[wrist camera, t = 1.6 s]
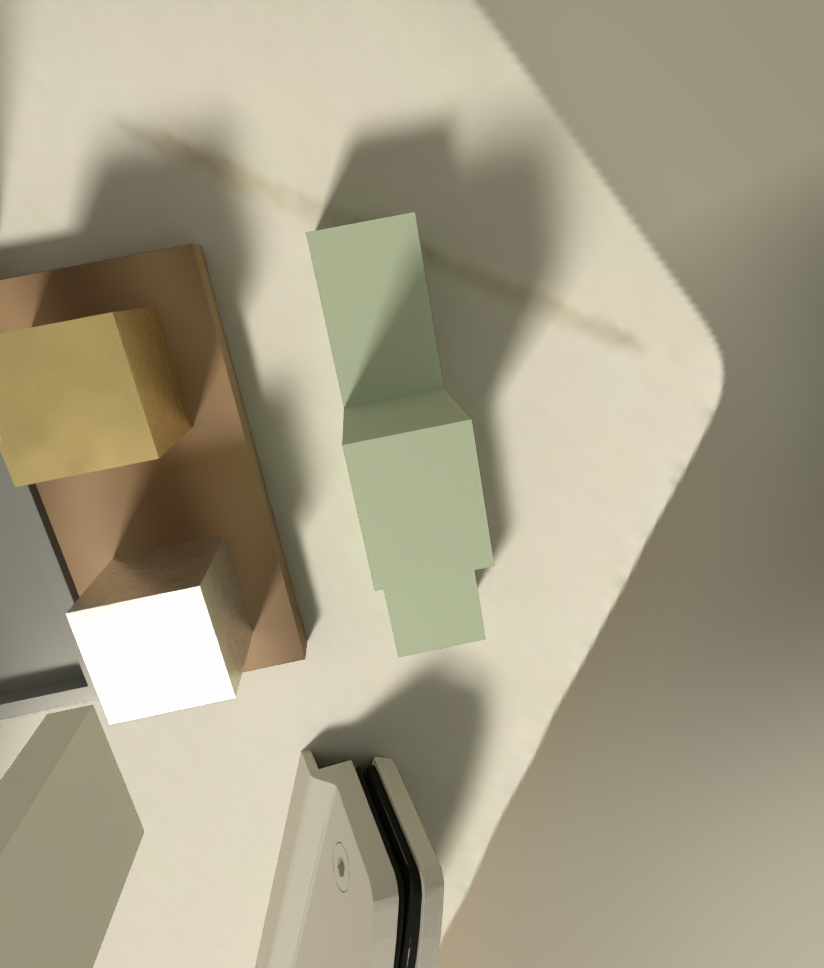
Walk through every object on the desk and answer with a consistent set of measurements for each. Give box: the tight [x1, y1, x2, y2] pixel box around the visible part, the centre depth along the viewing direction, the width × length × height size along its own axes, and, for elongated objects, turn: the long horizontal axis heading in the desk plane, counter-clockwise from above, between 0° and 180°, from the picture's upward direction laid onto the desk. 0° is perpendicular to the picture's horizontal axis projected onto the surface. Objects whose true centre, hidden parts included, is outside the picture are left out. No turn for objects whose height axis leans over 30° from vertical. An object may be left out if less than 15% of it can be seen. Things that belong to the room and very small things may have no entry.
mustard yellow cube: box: [0, 306, 192, 487], centre depth 24 cm, size 5×5×5 cm
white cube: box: [66, 535, 253, 724], centre depth 27 cm, size 5×5×5 cm
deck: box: [0, 244, 307, 672], centre depth 28 cm, size 9×19×2 cm, turn 10°
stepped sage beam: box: [306, 212, 494, 657], centre depth 25 cm, size 4×18×10 cm, turn 10°
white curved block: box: [255, 751, 444, 968], centre depth 33 cm, size 17×5×10 cm, turn 167°
